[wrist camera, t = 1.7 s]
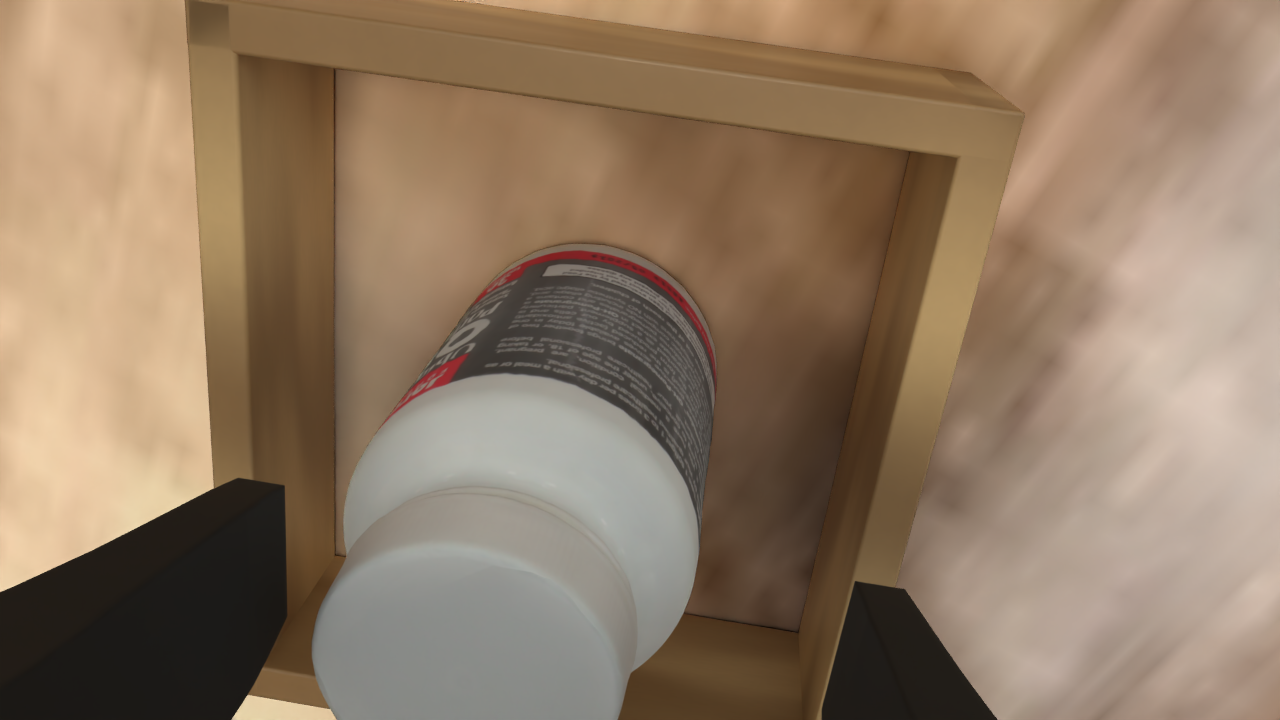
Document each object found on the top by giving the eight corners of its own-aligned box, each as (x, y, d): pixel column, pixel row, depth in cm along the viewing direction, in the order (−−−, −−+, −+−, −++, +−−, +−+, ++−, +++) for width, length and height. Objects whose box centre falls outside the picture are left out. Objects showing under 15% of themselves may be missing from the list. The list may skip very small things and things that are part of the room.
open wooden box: (826, 664, 24) (837, 799, 20) (303, 576, 25) (223, 692, 21) (973, 72, 18) (1026, 112, 15) (293, -23, 19) (182, -7, 15)
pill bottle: (484, 209, 20) (264, 444, 11) (746, 270, 20) (730, 555, 11) (451, 440, 23) (247, 786, 14) (687, 496, 23) (635, 881, 14)
